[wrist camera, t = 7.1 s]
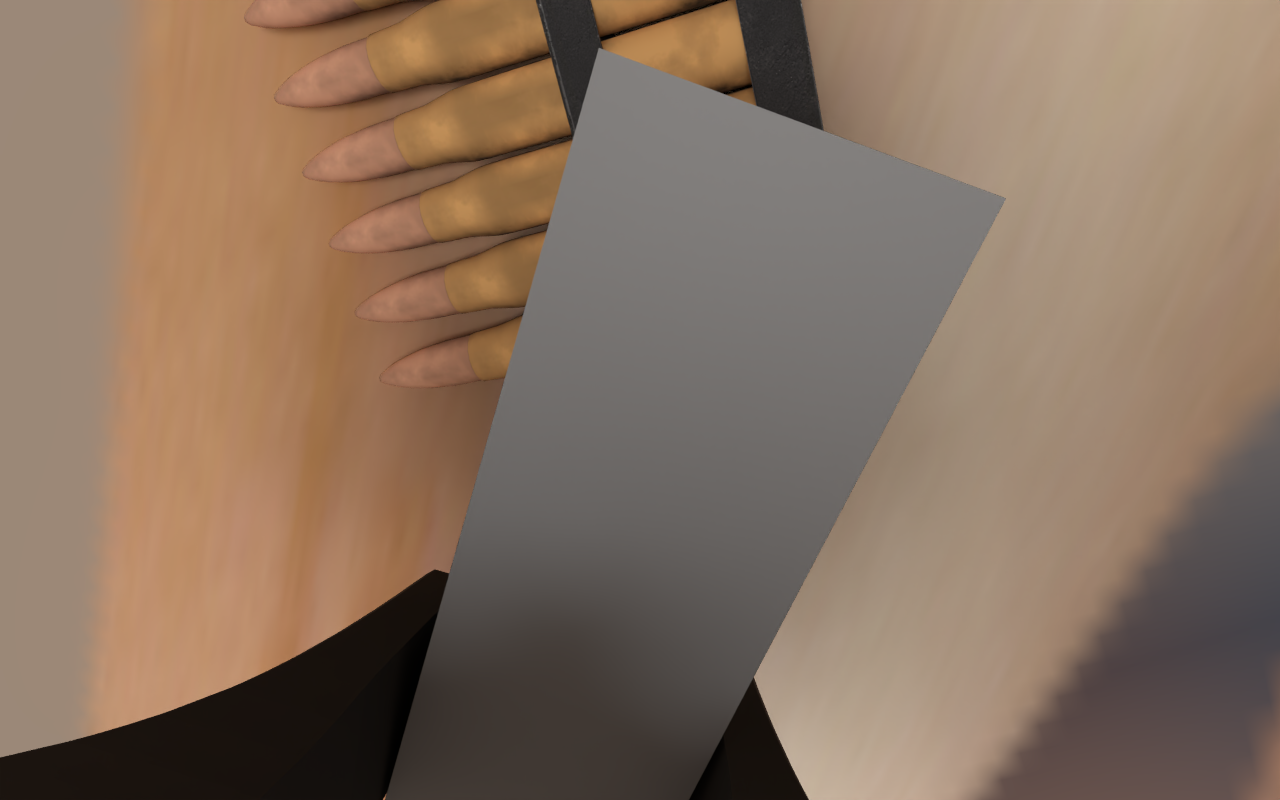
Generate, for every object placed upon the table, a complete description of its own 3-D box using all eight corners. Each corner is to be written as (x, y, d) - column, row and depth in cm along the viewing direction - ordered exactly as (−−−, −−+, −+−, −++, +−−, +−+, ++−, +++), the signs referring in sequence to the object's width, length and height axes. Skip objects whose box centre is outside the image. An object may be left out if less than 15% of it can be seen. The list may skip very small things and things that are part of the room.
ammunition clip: (758, -207, 15) (255, -18, 18) (757, -251, 13) (200, -34, 16) (848, 307, 18) (408, 400, 21) (857, 325, 16) (375, 424, 19)
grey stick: (905, 161, 11) (1006, 197, 7) (572, 878, 18) (511, 1134, 14) (661, 71, 11) (597, 47, 7) (421, 821, 18) (311, 1058, 14)
